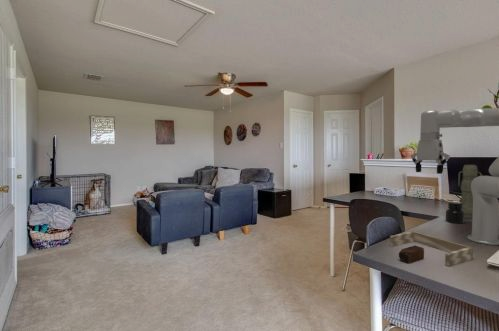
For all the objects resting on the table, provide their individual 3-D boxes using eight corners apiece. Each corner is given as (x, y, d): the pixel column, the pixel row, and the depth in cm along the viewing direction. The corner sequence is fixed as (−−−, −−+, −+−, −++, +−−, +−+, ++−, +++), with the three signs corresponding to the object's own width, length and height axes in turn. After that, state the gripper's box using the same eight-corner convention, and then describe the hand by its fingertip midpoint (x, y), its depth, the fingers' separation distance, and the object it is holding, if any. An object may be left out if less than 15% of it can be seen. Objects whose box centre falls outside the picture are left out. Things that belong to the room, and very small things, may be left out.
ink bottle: (459, 220, 163) (459, 201, 163) (468, 224, 155) (468, 204, 154) (441, 219, 165) (442, 201, 164) (450, 223, 156) (450, 203, 156)
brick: (414, 255, 108) (414, 244, 108) (424, 259, 105) (424, 247, 105) (398, 260, 103) (398, 249, 103) (408, 264, 100) (408, 252, 100)
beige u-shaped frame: (413, 240, 127) (413, 231, 126) (473, 258, 105) (473, 247, 104) (389, 245, 120) (390, 236, 120) (448, 266, 98) (448, 254, 97)
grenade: (482, 219, 165) (484, 164, 163) (458, 217, 171) (460, 164, 169) (478, 216, 172) (480, 164, 171) (456, 214, 179) (457, 164, 177)
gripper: (454, 136, 117) (453, 173, 118) (416, 138, 133) (415, 171, 134) (445, 135, 114) (443, 174, 115) (407, 137, 130) (406, 171, 131)
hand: (428, 172), depth 124 cm, fingers open, 9 cm apart
